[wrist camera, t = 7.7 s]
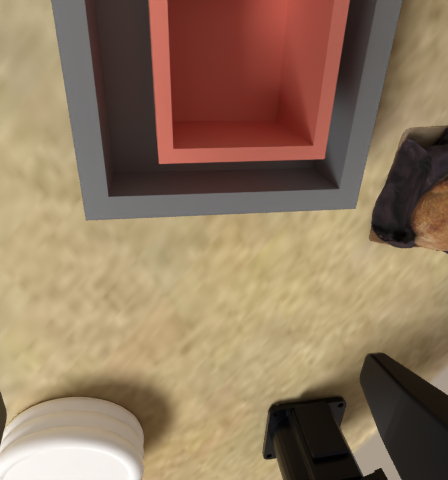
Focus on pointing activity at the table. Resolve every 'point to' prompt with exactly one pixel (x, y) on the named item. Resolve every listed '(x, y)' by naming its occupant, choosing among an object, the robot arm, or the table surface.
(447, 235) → the bread roll
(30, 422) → the white round container
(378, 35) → the big crate
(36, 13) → the table surface
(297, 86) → the small crate
